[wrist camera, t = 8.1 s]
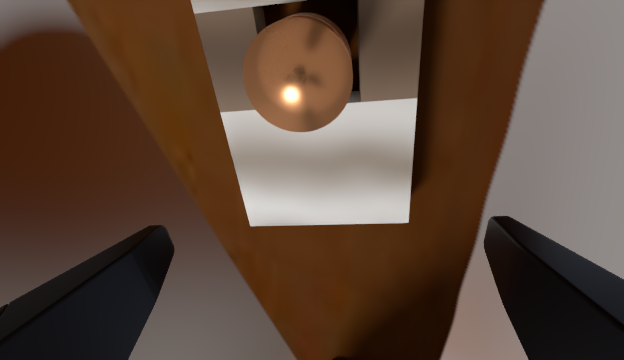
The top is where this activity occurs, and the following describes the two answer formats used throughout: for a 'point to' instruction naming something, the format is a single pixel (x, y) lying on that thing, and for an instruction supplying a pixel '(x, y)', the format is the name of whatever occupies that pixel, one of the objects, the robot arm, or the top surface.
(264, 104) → the brown round tapered piece
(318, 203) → the white block
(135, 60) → the top surface
